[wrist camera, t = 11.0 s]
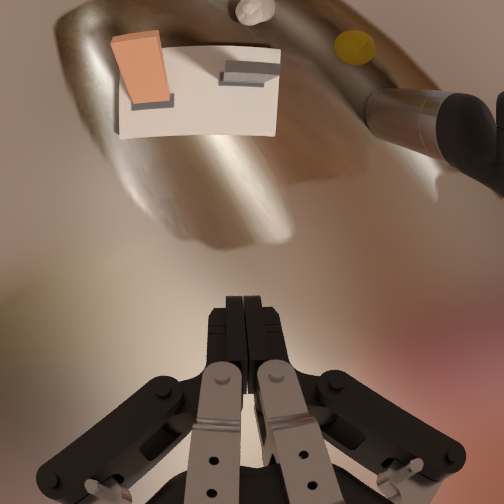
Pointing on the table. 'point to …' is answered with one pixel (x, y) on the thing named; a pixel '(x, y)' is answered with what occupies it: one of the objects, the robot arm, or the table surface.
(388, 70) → the table surface
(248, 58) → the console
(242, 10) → the dumpling
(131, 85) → the terracotta paddle
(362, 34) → the lemon
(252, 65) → the grey paddle
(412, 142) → the robot arm
